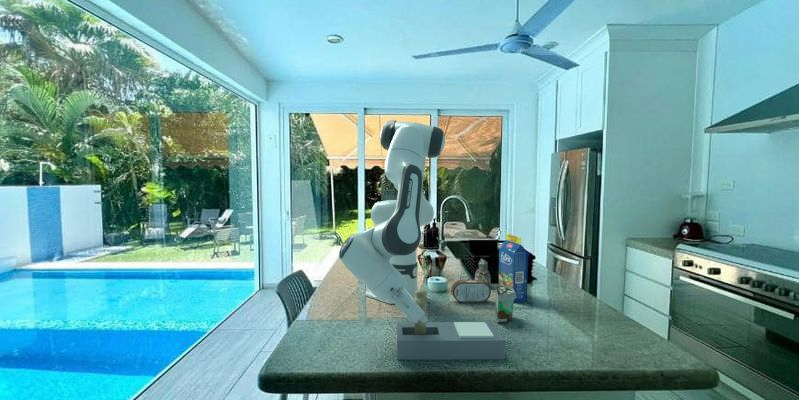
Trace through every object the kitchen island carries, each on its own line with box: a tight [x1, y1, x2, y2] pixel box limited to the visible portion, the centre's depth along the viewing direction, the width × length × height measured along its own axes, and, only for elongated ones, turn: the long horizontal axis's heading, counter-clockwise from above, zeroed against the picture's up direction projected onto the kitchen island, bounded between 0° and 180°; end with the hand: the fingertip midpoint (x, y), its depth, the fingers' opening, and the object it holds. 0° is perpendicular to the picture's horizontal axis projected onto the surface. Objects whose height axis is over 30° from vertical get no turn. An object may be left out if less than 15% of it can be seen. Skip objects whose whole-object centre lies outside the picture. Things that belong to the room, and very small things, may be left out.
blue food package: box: [498, 232, 529, 303], centre depth 139 cm, size 6×12×25 cm, turn 10°
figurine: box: [474, 258, 492, 288], centre depth 154 cm, size 7×7×12 cm
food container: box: [495, 284, 516, 325], centre depth 117 cm, size 12×6×10 cm, turn 168°
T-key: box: [415, 289, 428, 335], centre depth 96 cm, size 8×3×16 cm, turn 91°
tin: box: [450, 279, 492, 303], centre depth 134 cm, size 15×3×8 cm, turn 92°
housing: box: [396, 321, 506, 361], centre depth 96 cm, size 28×12×6 cm, turn 91°
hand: (422, 316), depth 96 cm, fingers closed on T-key, 3 cm apart
